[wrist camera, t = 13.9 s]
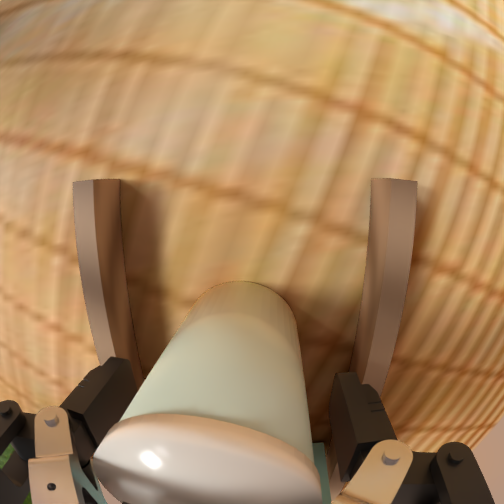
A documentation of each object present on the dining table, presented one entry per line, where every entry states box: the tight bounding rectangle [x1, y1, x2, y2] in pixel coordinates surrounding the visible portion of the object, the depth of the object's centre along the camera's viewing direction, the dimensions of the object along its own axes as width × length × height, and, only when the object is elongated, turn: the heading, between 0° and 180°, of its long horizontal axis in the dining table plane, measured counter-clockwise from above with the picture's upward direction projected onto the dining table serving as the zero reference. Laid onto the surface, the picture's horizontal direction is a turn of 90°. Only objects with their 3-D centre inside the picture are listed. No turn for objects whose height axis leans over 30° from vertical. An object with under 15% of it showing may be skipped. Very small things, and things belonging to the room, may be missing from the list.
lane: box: [73, 178, 417, 501], centre depth 11 cm, size 23×14×8 cm, turn 0°
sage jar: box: [92, 281, 322, 504], centre depth 10 cm, size 6×6×10 cm
